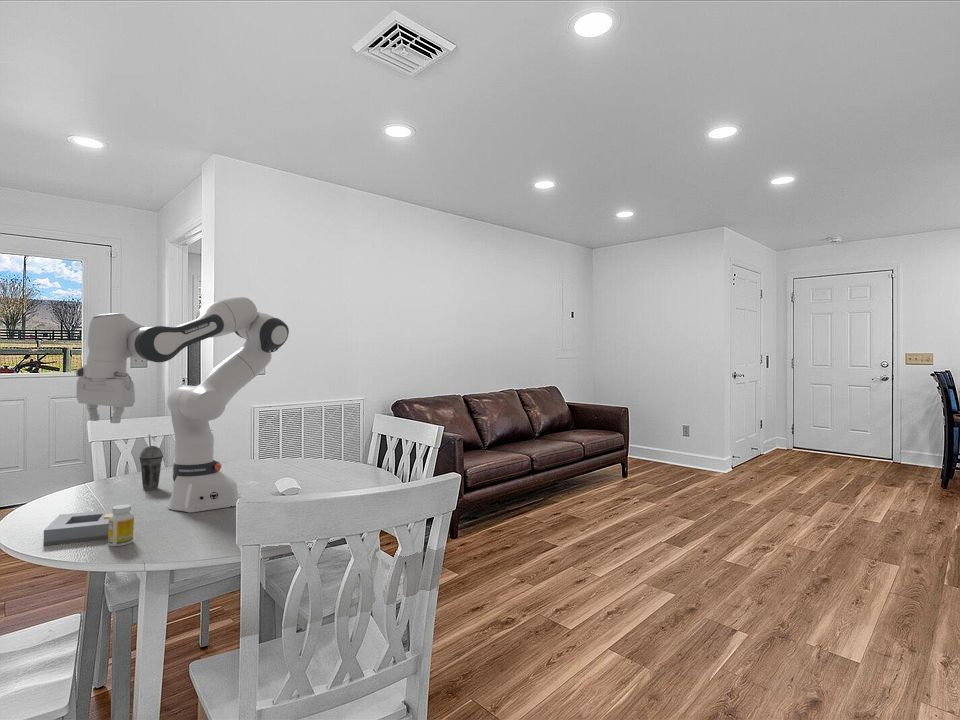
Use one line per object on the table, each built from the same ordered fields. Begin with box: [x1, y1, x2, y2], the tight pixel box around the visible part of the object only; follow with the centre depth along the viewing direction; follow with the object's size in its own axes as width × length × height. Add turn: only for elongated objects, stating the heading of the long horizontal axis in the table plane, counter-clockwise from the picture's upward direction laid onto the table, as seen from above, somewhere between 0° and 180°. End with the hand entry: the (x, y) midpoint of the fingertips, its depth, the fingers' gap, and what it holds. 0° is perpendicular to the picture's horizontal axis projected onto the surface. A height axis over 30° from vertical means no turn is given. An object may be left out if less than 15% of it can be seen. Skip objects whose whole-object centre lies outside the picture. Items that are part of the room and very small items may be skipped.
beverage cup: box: [139, 434, 164, 491], centre depth 184 cm, size 7×7×20 cm
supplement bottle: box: [107, 503, 135, 547], centre depth 132 cm, size 5×5×10 cm
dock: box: [43, 509, 113, 547], centre depth 138 cm, size 14×14×4 cm
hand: (104, 421), depth 139 cm, fingers open, 8 cm apart
